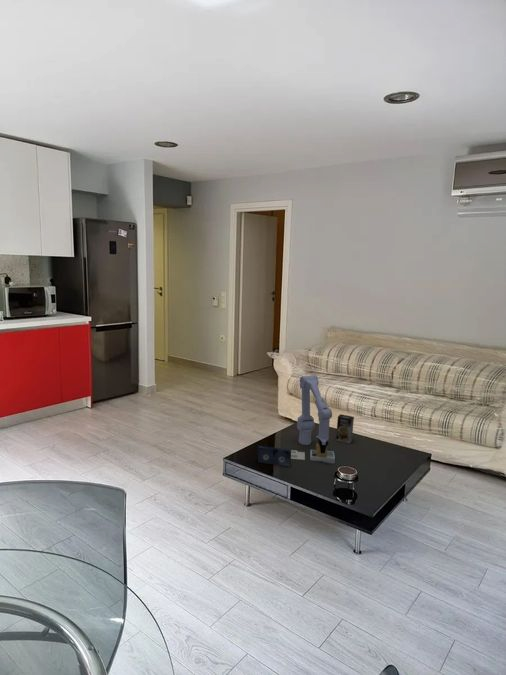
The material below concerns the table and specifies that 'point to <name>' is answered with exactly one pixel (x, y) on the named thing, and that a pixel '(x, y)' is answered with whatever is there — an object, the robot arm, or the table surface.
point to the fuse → (318, 452)
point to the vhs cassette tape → (274, 456)
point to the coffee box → (344, 428)
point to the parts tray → (328, 459)
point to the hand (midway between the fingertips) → (322, 451)
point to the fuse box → (297, 455)
